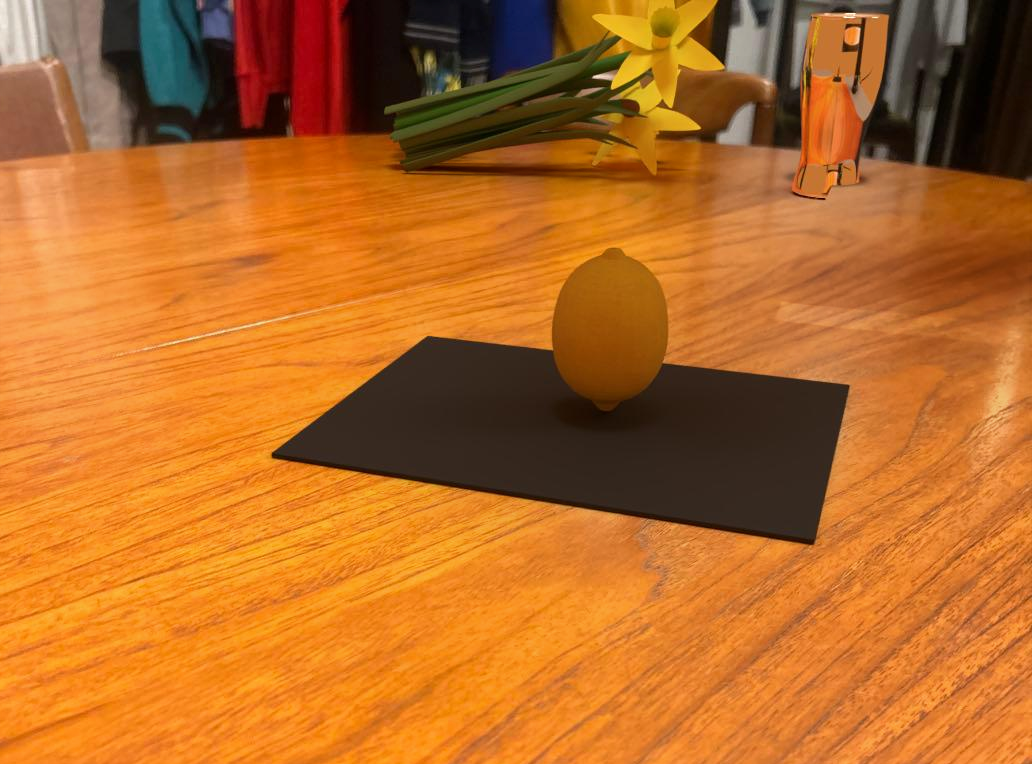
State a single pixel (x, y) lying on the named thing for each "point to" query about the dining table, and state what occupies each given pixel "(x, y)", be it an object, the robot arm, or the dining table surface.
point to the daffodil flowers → (568, 95)
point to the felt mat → (592, 437)
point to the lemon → (610, 329)
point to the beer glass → (838, 97)
